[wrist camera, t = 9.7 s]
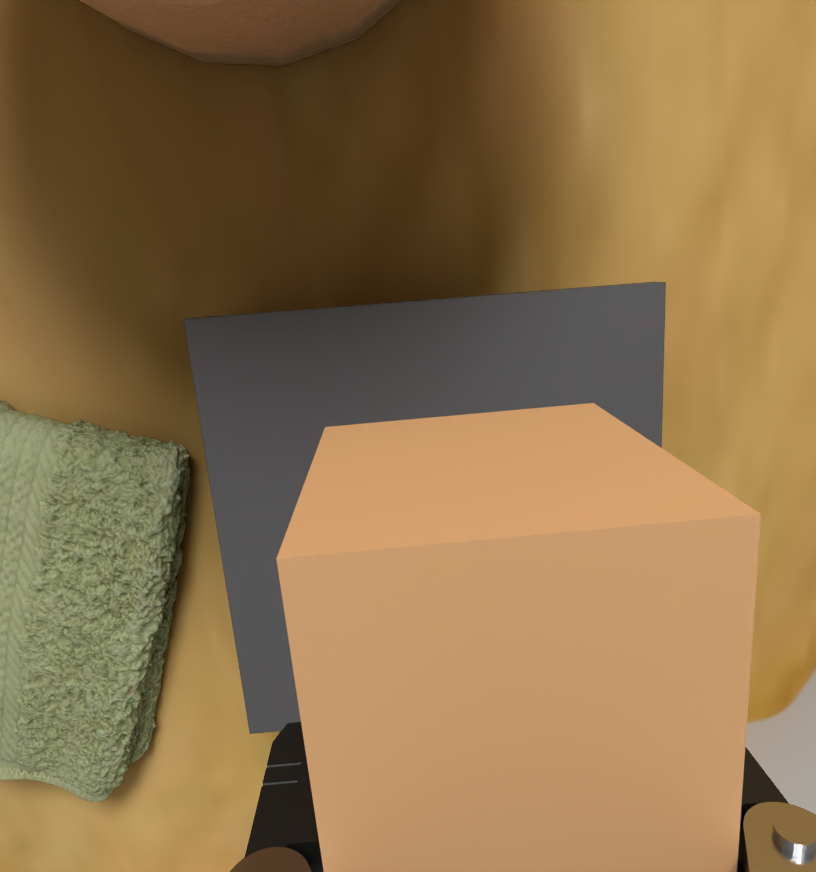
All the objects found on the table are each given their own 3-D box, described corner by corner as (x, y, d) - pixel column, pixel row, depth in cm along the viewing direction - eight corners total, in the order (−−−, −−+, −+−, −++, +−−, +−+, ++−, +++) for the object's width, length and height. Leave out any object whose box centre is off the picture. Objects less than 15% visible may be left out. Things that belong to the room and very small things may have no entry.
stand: (271, 658, 30) (249, 733, 25) (221, 311, 26) (183, 319, 21) (611, 629, 30) (655, 697, 25) (613, 280, 26) (665, 282, 21)
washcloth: (-127, 717, 30) (-186, 768, 27) (-92, 360, 26) (-156, 372, 23) (149, 773, 32) (124, 827, 28) (223, 441, 28) (203, 462, 24)
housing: (325, 427, 13) (276, 558, 7) (593, 403, 13) (761, 514, 7) (377, 859, 16) (373, 1202, 10) (596, 838, 16) (716, 1166, 10)
